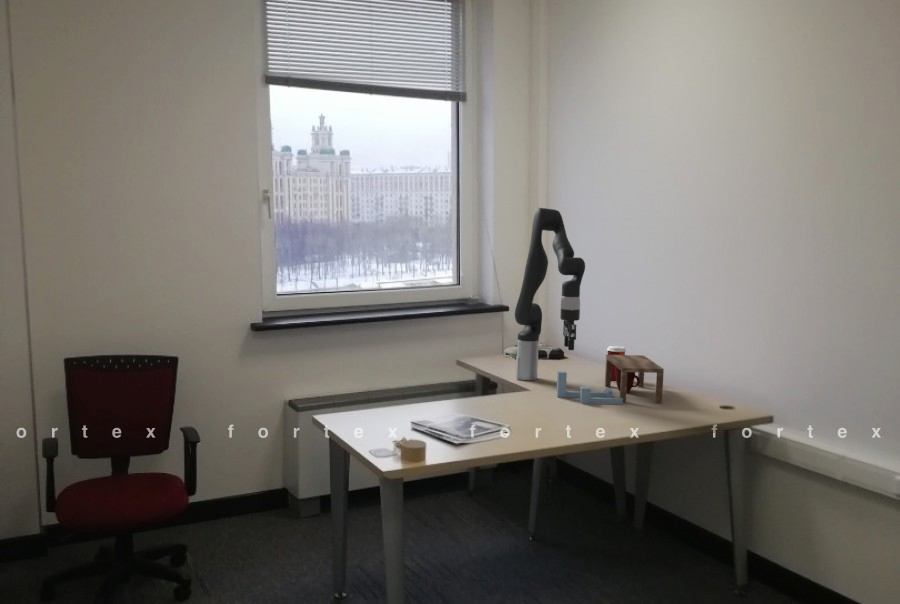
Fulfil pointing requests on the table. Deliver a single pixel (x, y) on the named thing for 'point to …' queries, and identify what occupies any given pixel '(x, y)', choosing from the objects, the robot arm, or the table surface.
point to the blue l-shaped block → (587, 399)
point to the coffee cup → (615, 351)
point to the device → (539, 352)
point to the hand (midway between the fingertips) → (569, 348)
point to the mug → (629, 379)
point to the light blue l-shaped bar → (563, 393)
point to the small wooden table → (634, 365)
